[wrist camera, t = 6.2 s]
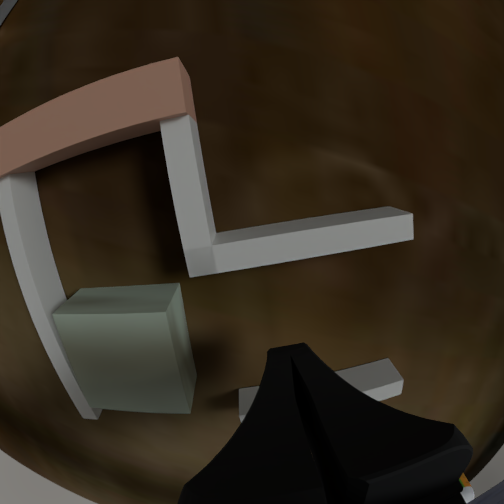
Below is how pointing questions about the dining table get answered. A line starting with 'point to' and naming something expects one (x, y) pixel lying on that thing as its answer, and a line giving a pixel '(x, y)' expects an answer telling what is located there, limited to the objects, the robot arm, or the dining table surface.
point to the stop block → (96, 116)
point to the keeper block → (130, 347)
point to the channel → (195, 252)
